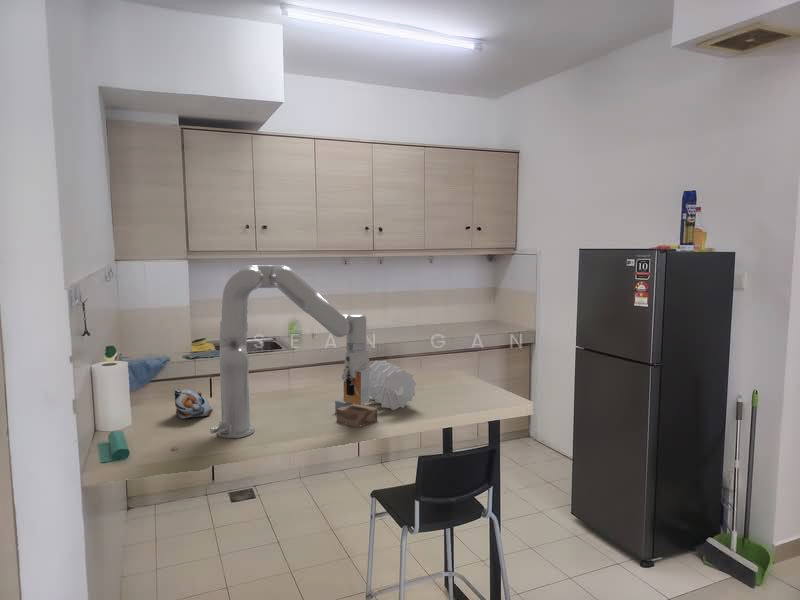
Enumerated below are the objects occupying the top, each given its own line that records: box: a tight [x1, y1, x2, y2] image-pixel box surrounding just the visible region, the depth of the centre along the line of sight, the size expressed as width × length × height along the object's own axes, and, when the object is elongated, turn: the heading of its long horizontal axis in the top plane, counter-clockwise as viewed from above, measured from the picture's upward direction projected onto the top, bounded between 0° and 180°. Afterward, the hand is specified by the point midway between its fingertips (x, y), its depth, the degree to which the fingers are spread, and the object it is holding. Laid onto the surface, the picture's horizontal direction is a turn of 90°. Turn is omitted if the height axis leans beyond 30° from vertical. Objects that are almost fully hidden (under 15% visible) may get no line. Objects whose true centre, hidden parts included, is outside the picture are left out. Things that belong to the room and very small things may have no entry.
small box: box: [343, 368, 371, 405], centre depth 207 cm, size 8×6×13 cm
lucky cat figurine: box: [173, 388, 214, 420], centre depth 210 cm, size 15×12×14 cm
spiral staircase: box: [370, 360, 417, 411], centre depth 228 cm, size 18×18×25 cm
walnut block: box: [336, 404, 378, 428], centre depth 207 cm, size 11×11×5 cm
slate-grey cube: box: [334, 397, 353, 414], centre depth 217 cm, size 5×5×5 cm
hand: (356, 392), depth 207 cm, fingers closed on small box, 6 cm apart
